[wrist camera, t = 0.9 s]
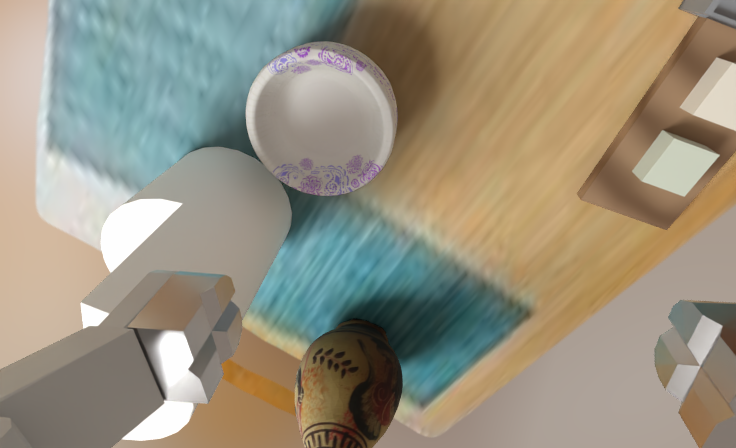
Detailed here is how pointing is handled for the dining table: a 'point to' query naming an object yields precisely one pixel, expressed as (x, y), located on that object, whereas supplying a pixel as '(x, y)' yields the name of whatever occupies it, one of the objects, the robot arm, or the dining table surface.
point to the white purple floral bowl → (322, 118)
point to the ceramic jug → (347, 387)
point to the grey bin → (712, 10)
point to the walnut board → (662, 112)
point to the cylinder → (193, 241)
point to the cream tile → (715, 95)
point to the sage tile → (674, 163)
